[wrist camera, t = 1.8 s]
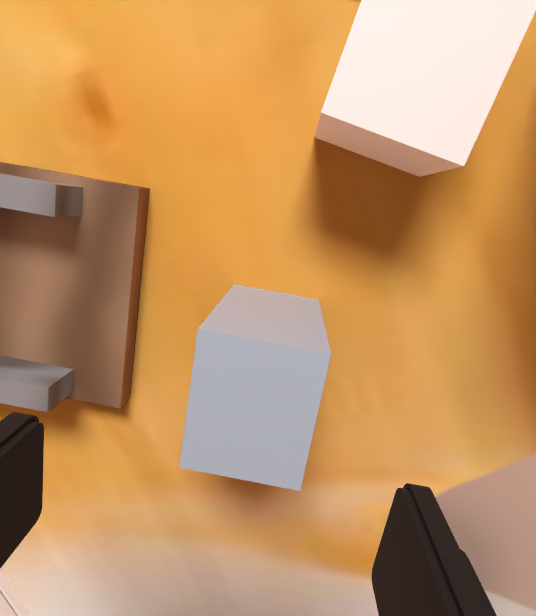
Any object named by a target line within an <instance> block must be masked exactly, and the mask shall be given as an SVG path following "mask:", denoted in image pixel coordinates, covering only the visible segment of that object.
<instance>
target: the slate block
mask: <svg viewBox="0 0 536 616" xmlns="http://www.w3.org/2000/svg"><path fill="white" fill-rule="evenodd" d="M330 357H331V351H330V347H329V342H328V338H327V334H326V329H325V325H324V321H323V316H322V312H321V307H320V303H319V299H314V298H308V297H303V296H297V295H292V294H286V293H281V292H275V291H270V290H264V289H259V288H254V287H248V286H243V285H237V284H234V285H233V286H232V287H231V289H230V290H229V291H228V292H227V294H226V295H225V296H224V297H223V299H222V300H221V301H220V302H219V303H218V305H217V306H216V307H215V308H214V310H213V311H212V312H211V313H210V315H209V316H208V317H207V318H206V320H205V321H204V322H203V323H202V325H201V326H200V327H199V328H198V332H197V339H196V347H195V354H194V361H193V369H192V376H191V384H190V391H189V399H188V406H187V414H186V421H185V429H184V436H183V444H182V451H181V459H180V466H179V468H185V469H190V470H195V471H200V472H205V473H210V474H215V475H220V476H225V477H231V478H236V479H241V480H246V481H251V482H256V483H261V484H266V485H271V486H277V487H282V488H287V489H292V490H297V491H300V490H301V486H302V481H303V477H304V472H305V468H306V463H307V459H308V454H309V450H310V446H311V441H312V437H313V432H314V428H315V423H316V419H317V414H318V410H319V406H320V401H321V397H322V392H323V388H324V383H325V379H326V375H327V370H328V366H329V361H330Z"/></svg>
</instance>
